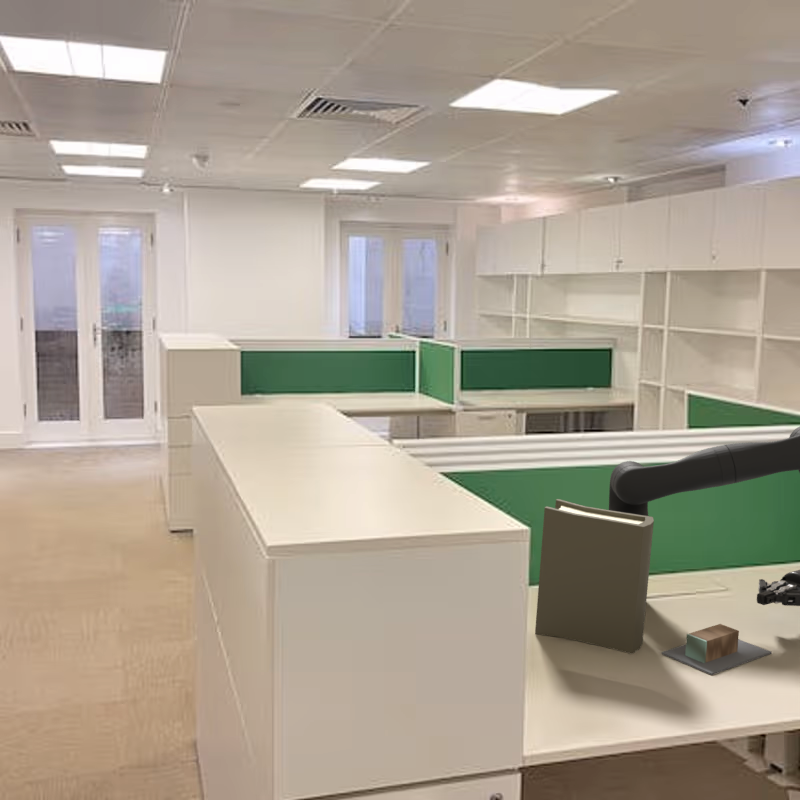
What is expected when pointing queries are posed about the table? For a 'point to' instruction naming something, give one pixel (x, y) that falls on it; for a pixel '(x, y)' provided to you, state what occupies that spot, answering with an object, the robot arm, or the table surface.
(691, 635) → the walnut block
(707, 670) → the rubber mat
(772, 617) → the table surface
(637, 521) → the book
